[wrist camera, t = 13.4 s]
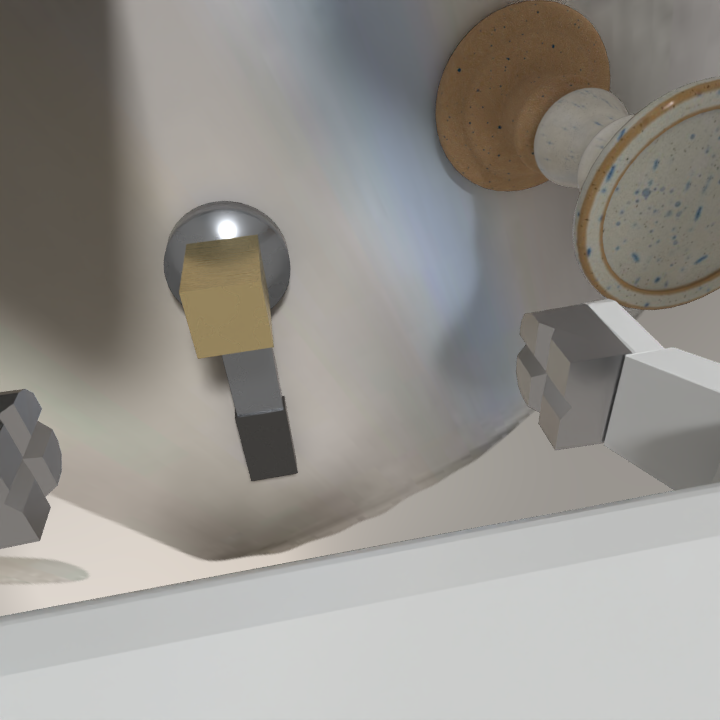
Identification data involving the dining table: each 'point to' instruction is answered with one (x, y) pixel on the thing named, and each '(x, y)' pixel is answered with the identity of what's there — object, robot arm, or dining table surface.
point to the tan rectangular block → (226, 296)
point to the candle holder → (590, 150)
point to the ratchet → (250, 368)
